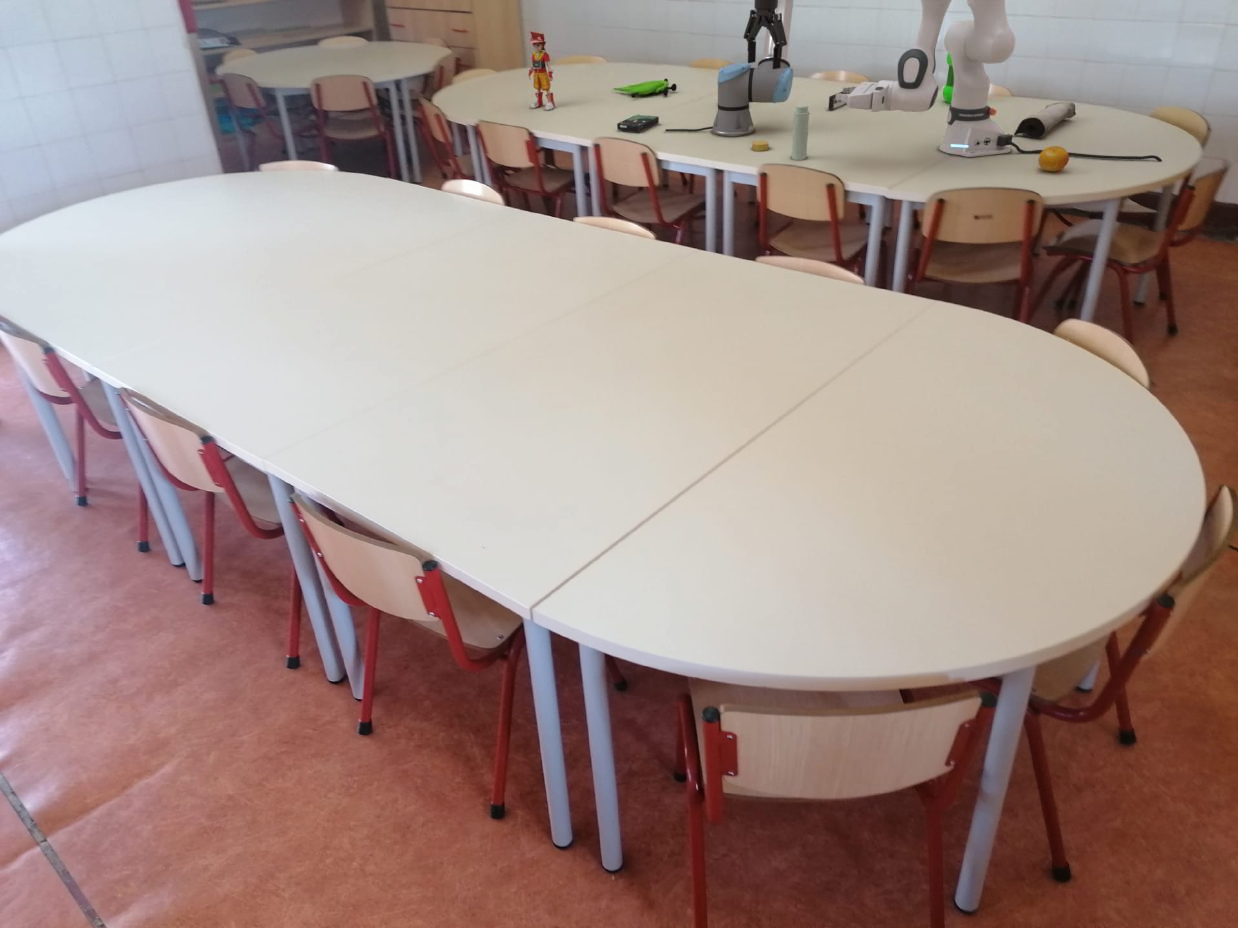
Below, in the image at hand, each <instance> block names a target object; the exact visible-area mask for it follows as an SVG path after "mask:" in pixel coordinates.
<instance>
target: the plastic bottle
mask: <svg viewBox="0 0 1238 928" xmlns="http://www.w3.org/2000/svg"><path fill="white" fill-rule="evenodd" d="M946 63H947V64H948V69H947V70H948V71H947V76H946V77H947V78H946V84H945V85H944V87H943V90H942V97H943V99H944V100H945V101H946V102H947V103H948V104H951V101H952V94H953V86H954V72H953V66H952V61H951V57H950V55H949V53H948V52H947V54H946Z"/></svg>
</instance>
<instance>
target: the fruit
mask: <svg viewBox="0 0 1238 928" xmlns="http://www.w3.org/2000/svg"><path fill="white" fill-rule="evenodd" d="M1042 150H1043V151H1042V152H1041V153H1039V156H1038V158H1037V159H1038V162H1037V163H1038V166H1039V167H1040V169H1042V170H1044V171H1046V172H1059V171H1062V170H1063V169H1064V168H1065V167H1066V166H1067V165H1068V163H1069V160H1070V155H1069V154H1068V152H1069V151H1068V150H1067V149H1066V148H1064V147H1062V146H1060V145H1059V146H1058V145H1052V146H1049V147H1045V148H1043V149H1042Z"/></svg>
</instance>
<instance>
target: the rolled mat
mask: <svg viewBox="0 0 1238 928" xmlns="http://www.w3.org/2000/svg"><path fill="white" fill-rule="evenodd" d="M1076 115H1077V112H1076V105H1075V103H1074V102H1070V101H1069V102H1068V101H1059V102H1056V103H1055V102H1054V103H1049V104H1047V105H1045V107H1044V108H1043V109H1041V110H1039V111H1037V112H1035V113H1033V114H1031V115H1029V116H1027V117H1026V118H1023V119H1022V120H1021V121H1020V122H1019V124H1018V126H1017V128H1016V129H1015V131H1014V133H1013V137H1016V136H1018V135H1025V136H1027V137H1028V138H1033V139H1037V140H1038V139H1041V138H1042V137H1044V136H1045V135H1046V134H1047V133H1048V132H1049V131H1051V129H1052V128H1053V127H1055V125H1057V124H1059V122H1061V121H1062V120H1066V119H1072V118H1073V117H1075V116H1076Z"/></svg>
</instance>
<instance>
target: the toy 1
mask: <svg viewBox="0 0 1238 928" xmlns="http://www.w3.org/2000/svg"><path fill="white" fill-rule="evenodd" d="M529 33H530V35H531V36H528V37H527V38H528V39H529V40H528V41H527V43H529V44H530V43H531V44H532V48H533V50H534V51H533V52H532V55H531V58H530V59H531V63H530V66H528V74H527V75H528V76H527V77H528V79H529V80H531V75H532V74H533V84H532V85H533V86H532V87H533V88H534V89H535V90H536V92H534V95H535V97H536V100H535V101H533V102H531V105H530V108H531V109H535V108H538V107H542V106H544V101H543V100H544V99H543V95H544V92H546V94H545V97H546V99H547V103H546V104H545V106H544V110H546V111H549V110H553V109H554V107H555V106H556V105H555V99H554V92H551V91H550V90H551V86H552V84H551V82H552V81H553V80H554V77H553V73H554V71H555V70H554V69H552V68H551V63H550V61H551V59H550V58H551V57H550V54H549V53H548V52H547V50H546V48H545V46H546V44H547V41H545V35H544V33H543V32H542V33H539V32H535V31H529Z"/></svg>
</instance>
